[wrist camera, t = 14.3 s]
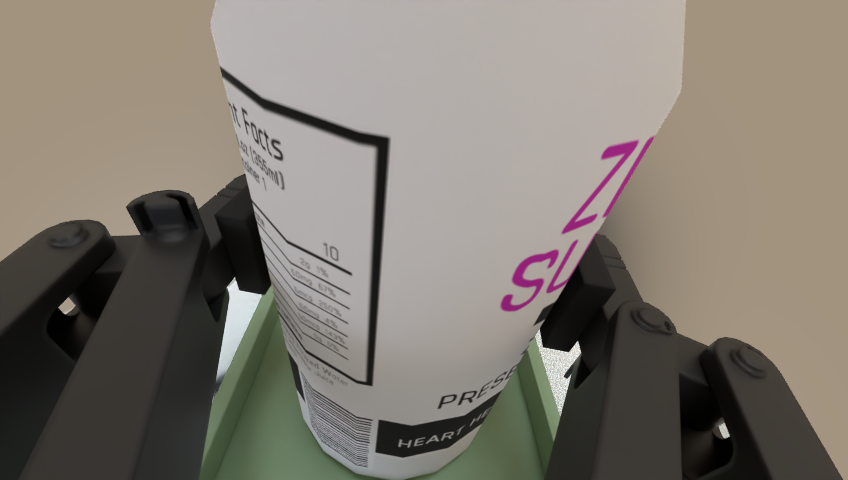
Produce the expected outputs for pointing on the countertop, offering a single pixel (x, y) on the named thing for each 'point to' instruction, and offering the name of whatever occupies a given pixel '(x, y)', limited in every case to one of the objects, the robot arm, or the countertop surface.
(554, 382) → the countertop surface
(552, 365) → the countertop surface
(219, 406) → the can tray
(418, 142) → the supplement can
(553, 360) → the countertop surface
